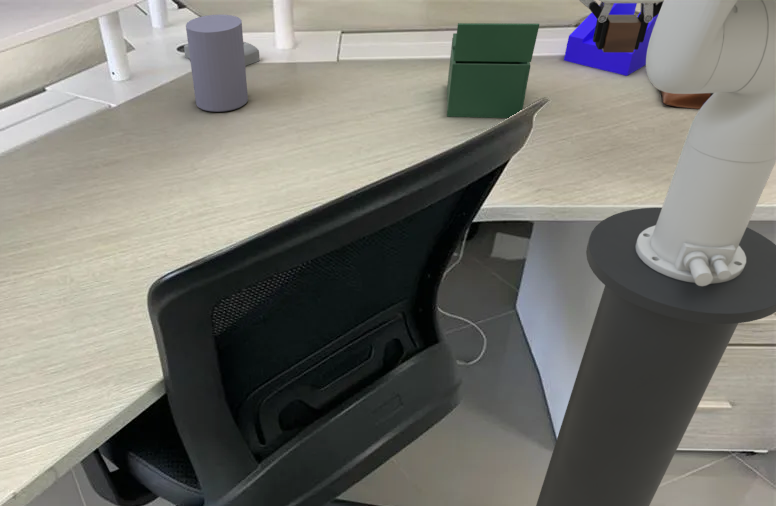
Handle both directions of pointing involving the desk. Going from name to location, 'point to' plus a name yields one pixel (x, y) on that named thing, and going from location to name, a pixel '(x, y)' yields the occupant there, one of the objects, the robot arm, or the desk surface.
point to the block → (621, 33)
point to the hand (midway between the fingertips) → (616, 45)
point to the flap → (495, 42)
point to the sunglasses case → (685, 99)
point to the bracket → (589, 55)
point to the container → (217, 62)
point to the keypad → (249, 53)
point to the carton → (485, 87)
